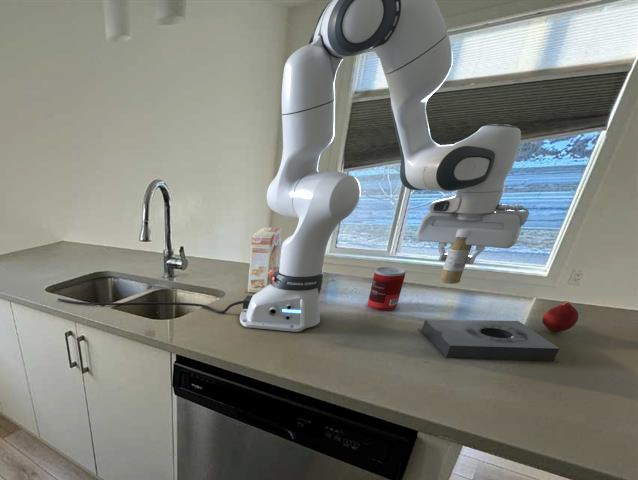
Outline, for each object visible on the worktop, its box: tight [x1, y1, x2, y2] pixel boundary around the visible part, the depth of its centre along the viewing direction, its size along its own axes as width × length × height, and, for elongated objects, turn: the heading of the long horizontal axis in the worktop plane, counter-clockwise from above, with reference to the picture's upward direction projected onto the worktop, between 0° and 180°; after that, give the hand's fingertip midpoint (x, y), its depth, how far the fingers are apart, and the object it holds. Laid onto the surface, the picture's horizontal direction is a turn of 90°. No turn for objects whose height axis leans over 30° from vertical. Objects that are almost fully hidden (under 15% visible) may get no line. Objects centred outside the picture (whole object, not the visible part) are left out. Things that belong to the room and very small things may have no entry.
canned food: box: [367, 266, 407, 312], centre depth 119 cm, size 8×8×11 cm
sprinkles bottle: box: [438, 229, 473, 285], centre depth 103 cm, size 5×5×14 cm
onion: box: [542, 300, 579, 334], centre depth 97 cm, size 6×6×8 cm
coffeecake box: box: [247, 227, 283, 294], centre depth 142 cm, size 15×7×20 cm, turn 149°
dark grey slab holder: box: [421, 319, 560, 362], centre depth 96 cm, size 20×16×3 cm
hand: (455, 262), depth 104 cm, fingers closed on sprinkles bottle, 4 cm apart
